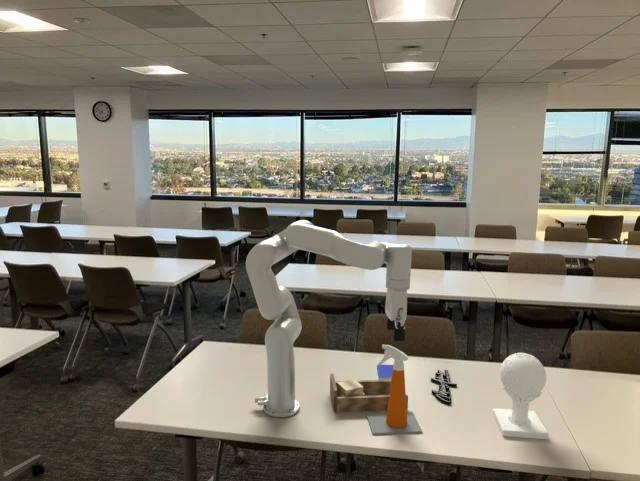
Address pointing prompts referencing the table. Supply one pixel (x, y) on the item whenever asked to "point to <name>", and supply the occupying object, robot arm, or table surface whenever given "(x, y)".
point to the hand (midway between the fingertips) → (395, 334)
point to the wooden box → (362, 401)
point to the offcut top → (350, 387)
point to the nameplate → (443, 387)
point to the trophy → (521, 396)
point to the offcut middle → (344, 396)
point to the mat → (381, 427)
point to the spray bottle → (396, 388)
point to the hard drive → (384, 372)
